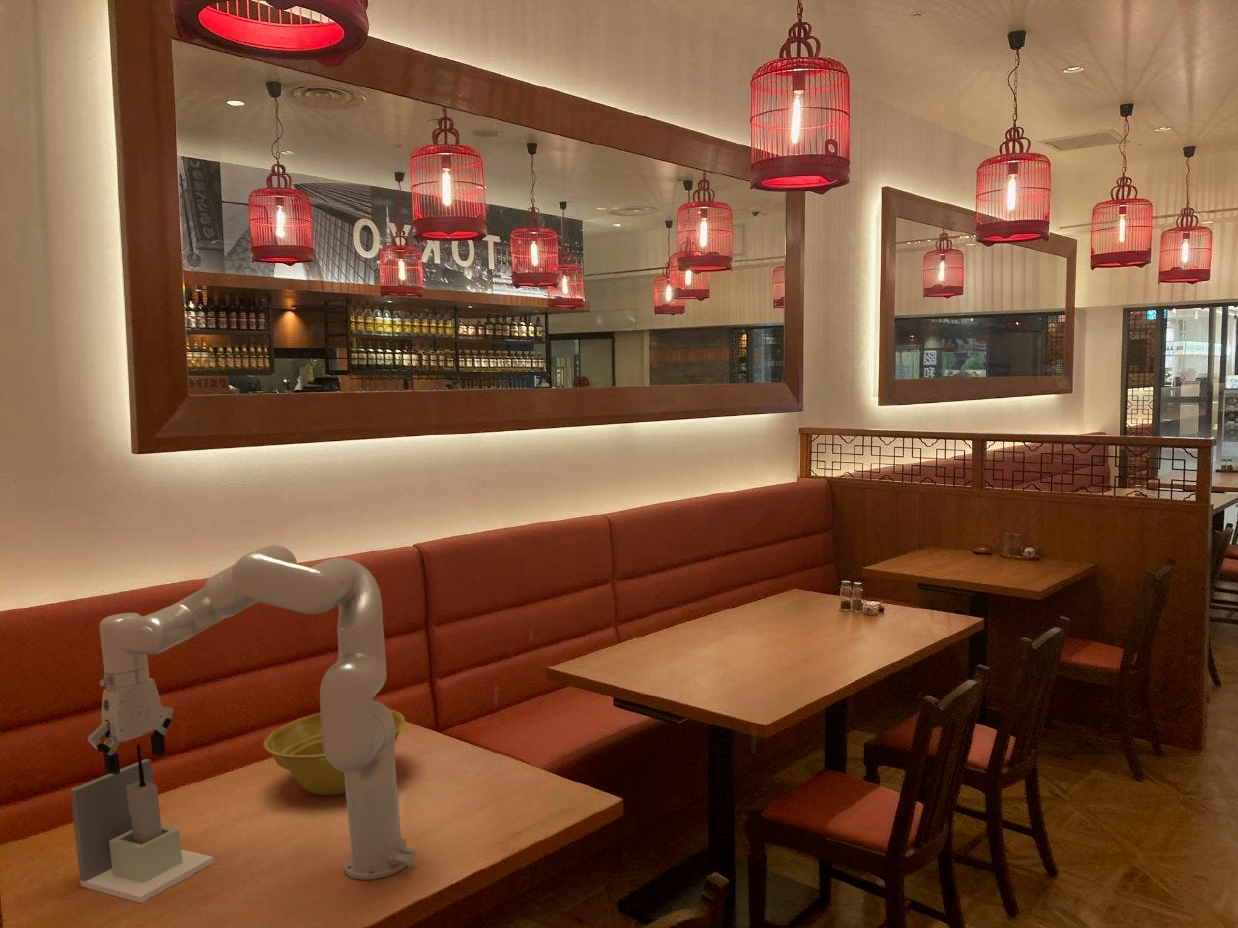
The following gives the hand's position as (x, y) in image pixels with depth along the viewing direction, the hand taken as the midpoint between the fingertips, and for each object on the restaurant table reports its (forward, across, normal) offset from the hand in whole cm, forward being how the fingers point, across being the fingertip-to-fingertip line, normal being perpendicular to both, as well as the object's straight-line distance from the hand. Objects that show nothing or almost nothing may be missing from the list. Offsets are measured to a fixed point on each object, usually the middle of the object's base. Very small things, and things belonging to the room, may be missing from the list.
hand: (136, 763), depth 182 cm
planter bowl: (+23, +47, -5) cm, 52 cm away
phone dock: (+22, 0, 0) cm, 22 cm away
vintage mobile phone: (+21, 0, 0) cm, 21 cm away
